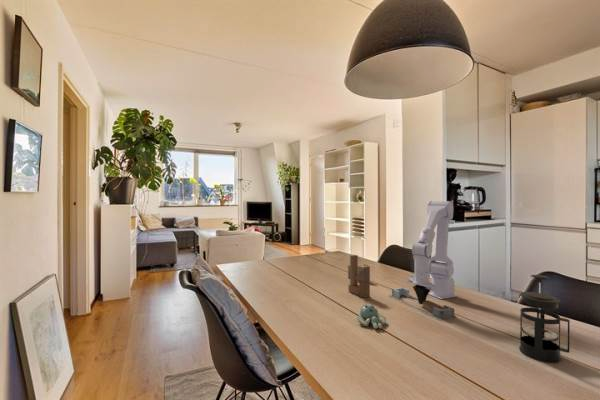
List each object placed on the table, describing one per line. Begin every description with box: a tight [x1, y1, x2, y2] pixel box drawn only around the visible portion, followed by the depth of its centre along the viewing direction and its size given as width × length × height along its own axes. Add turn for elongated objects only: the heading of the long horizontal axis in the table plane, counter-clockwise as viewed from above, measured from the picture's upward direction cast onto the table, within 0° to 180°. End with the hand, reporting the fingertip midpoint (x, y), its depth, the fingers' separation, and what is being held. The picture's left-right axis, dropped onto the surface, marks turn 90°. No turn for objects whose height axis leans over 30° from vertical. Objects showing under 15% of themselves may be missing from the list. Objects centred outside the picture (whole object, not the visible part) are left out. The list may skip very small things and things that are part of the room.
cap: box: [391, 286, 410, 299], centre depth 134 cm, size 6×4×3 cm, turn 111°
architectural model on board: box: [347, 263, 369, 282], centre depth 162 cm, size 11×3×10 cm, turn 48°
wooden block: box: [348, 254, 371, 299], centre depth 137 cm, size 4×11×18 cm, turn 33°
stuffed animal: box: [357, 304, 387, 330], centre depth 106 cm, size 11×7×12 cm
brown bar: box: [422, 299, 447, 313], centre depth 117 cm, size 3×10×3 cm, turn 19°
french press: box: [518, 274, 571, 364], centre depth 84 cm, size 12×9×23 cm
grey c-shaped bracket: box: [432, 304, 455, 321], centre depth 112 cm, size 6×4×3 cm, turn 111°
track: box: [388, 294, 457, 321], centre depth 123 cm, size 9×29×1 cm, turn 21°
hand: (421, 303), depth 122 cm, fingers closed
